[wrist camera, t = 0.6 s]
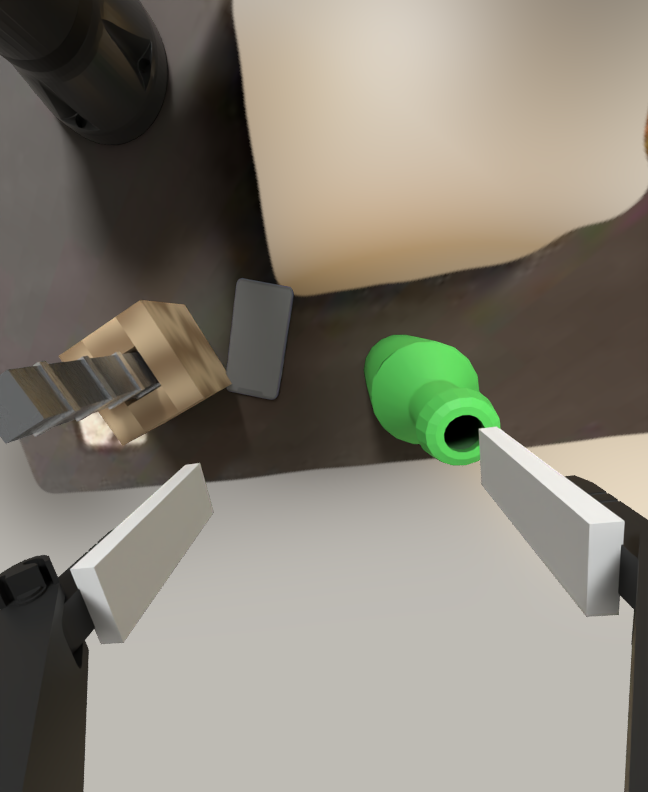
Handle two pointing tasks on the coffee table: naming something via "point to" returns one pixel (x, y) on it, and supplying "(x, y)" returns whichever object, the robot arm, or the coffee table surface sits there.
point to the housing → (156, 364)
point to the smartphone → (258, 338)
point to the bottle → (428, 397)
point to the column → (69, 391)
